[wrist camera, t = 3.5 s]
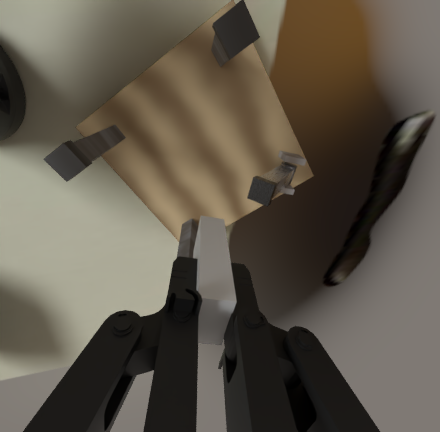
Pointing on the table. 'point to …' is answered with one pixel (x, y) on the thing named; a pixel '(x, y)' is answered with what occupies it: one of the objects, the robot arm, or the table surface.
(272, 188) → the hinged leg
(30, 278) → the table surface
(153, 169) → the stool top
